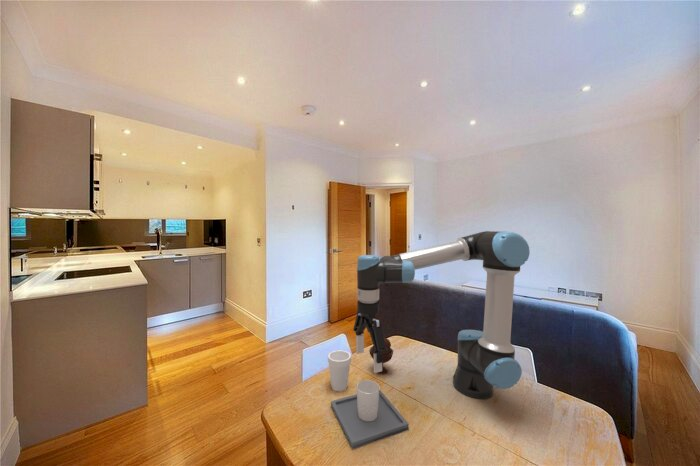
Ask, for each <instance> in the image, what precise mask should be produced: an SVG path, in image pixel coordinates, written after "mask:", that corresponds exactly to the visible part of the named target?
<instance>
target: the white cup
mask: <svg viewBox="0 0 700 466" xmlns="http://www.w3.org/2000/svg"><path fill="white" fill-rule="evenodd" d="M379 389H380V385H379V383H378V382H377V381H375V380H373V379H372V380H371V379H362V380H359V381H358V382H357V384H356V394H357V406H358V416H359V418H360V419H362V420H363V421H368V422H369V421H373V420H375V419H376V418H377V414H378V404H379Z"/></svg>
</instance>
